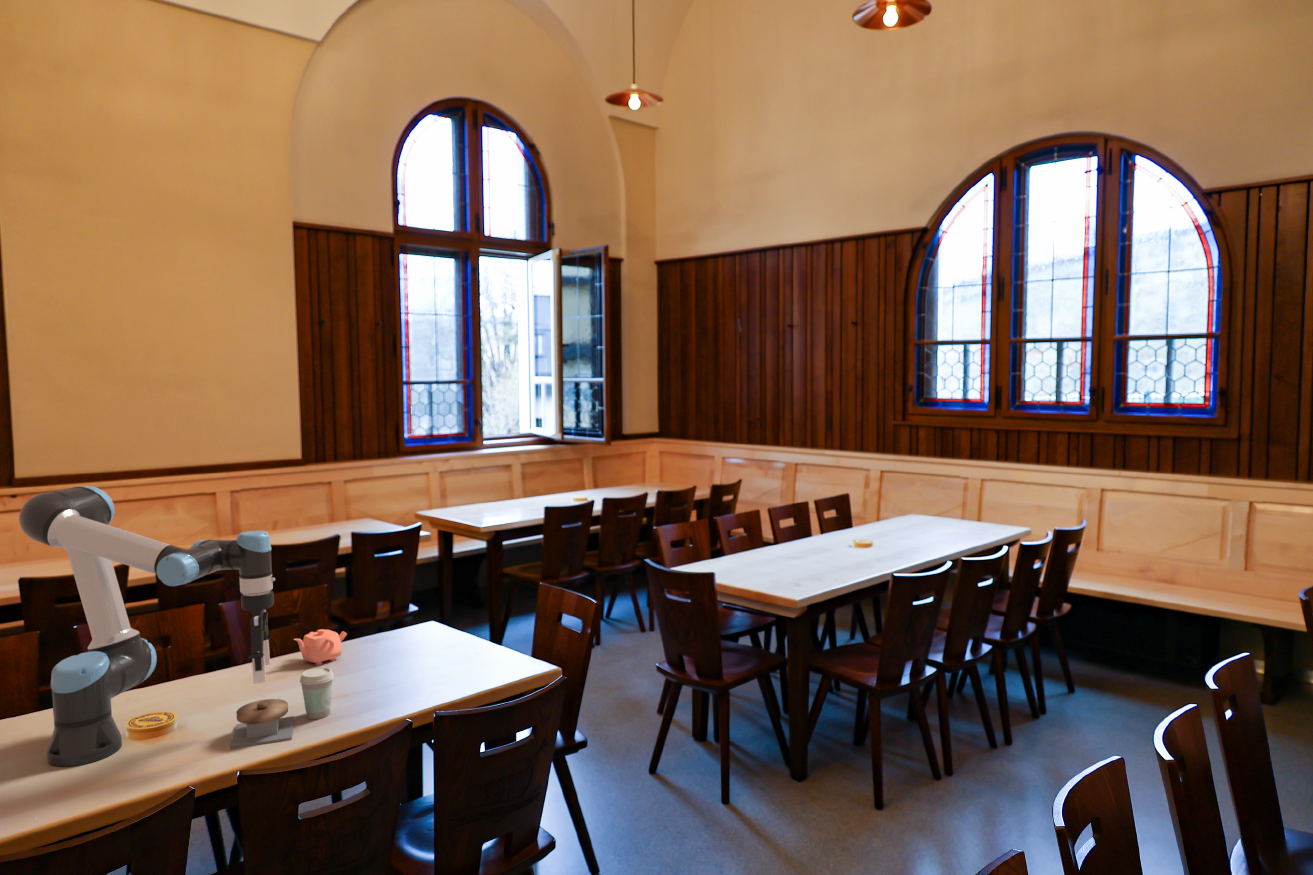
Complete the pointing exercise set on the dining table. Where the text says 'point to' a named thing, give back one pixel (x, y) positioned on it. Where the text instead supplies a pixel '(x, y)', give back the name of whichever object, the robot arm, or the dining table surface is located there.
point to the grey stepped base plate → (262, 732)
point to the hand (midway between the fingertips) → (262, 673)
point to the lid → (262, 711)
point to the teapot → (321, 646)
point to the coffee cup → (317, 691)
